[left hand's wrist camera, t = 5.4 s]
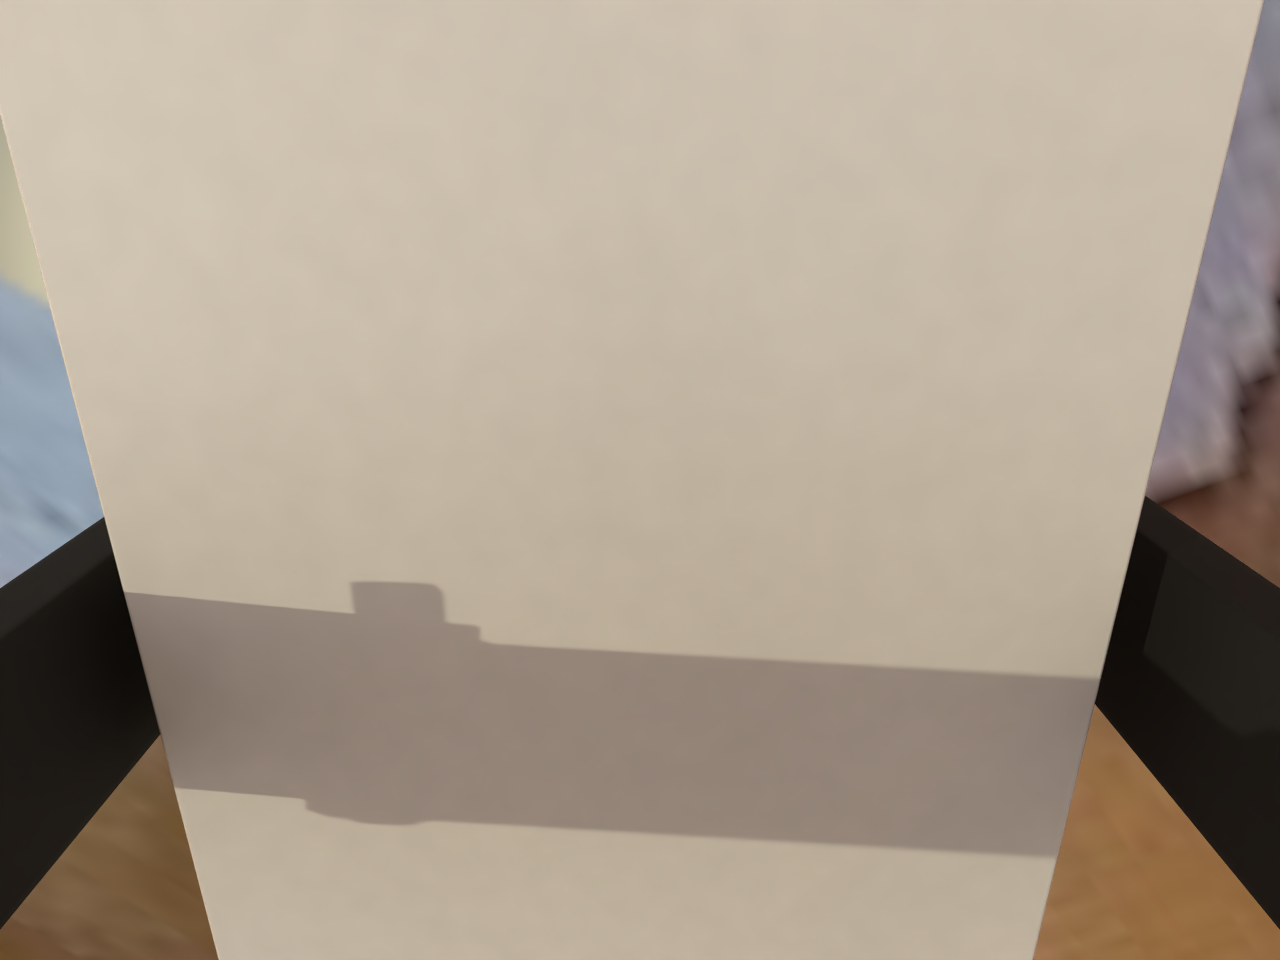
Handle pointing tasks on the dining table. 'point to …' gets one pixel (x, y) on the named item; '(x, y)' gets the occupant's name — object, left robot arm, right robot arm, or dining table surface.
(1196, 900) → the dining table surface
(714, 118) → the beige cardboard box
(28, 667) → the left robot arm
